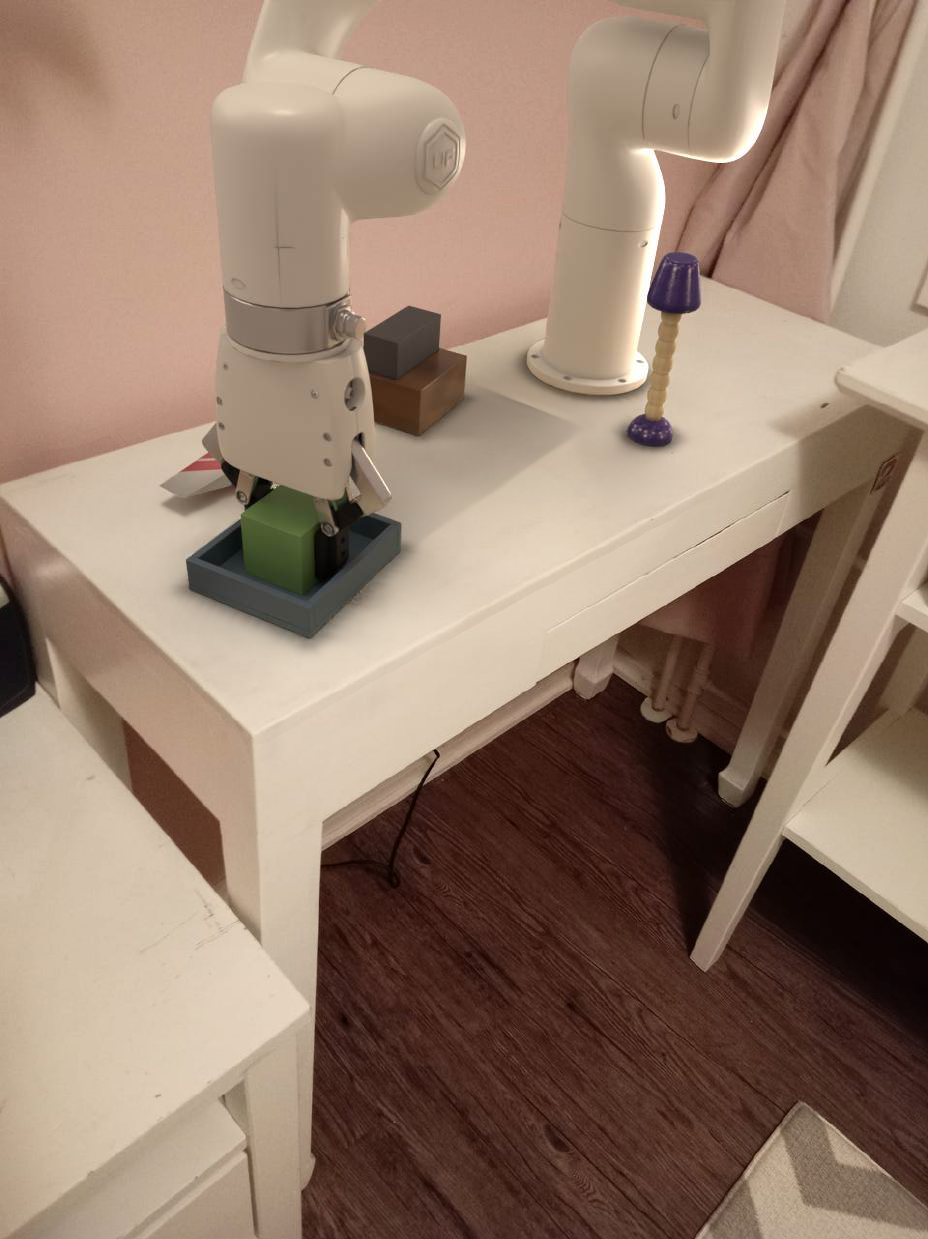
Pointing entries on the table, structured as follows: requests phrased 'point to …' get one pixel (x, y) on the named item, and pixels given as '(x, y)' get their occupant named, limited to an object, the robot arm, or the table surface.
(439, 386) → the walnut block
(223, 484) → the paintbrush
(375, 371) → the charcoal block
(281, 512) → the green block
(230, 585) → the tray
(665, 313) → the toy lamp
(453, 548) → the table surface
